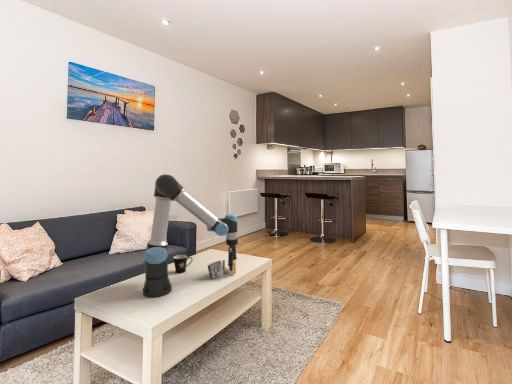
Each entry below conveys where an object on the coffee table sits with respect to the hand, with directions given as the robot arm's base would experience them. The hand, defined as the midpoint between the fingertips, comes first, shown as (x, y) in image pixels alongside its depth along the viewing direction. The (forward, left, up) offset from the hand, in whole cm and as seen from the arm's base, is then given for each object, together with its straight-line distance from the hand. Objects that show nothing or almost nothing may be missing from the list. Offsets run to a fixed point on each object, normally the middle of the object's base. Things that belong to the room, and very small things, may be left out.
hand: (232, 272), depth 184 cm
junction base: (-5, +5, 0) cm, 7 cm away
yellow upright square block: (0, 0, 0) cm, 0 cm away
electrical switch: (-12, -3, 0) cm, 12 cm away
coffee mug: (-31, +12, 0) cm, 33 cm away
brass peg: (-5, +5, +1) cm, 7 cm away
